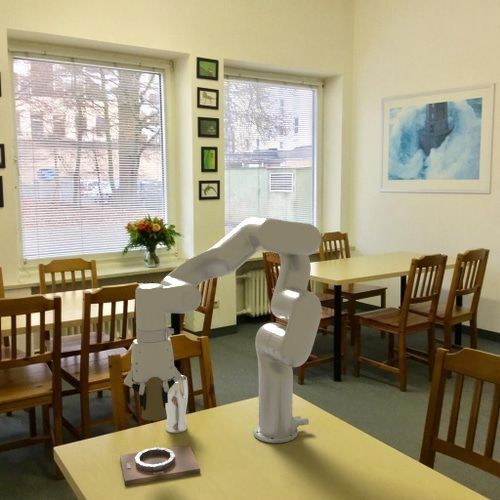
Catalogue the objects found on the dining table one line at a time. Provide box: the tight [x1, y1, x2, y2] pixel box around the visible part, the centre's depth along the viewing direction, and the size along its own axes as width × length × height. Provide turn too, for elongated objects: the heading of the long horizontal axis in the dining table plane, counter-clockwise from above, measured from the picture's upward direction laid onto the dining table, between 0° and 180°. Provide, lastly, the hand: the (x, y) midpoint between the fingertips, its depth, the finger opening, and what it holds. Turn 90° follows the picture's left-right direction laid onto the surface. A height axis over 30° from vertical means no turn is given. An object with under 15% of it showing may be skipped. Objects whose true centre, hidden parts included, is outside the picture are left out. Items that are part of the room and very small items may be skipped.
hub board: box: [119, 444, 201, 486], centre depth 138 cm, size 18×13×1 cm
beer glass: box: [165, 374, 189, 434], centre depth 159 cm, size 7×7×15 cm
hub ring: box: [135, 446, 175, 472], centre depth 138 cm, size 10×10×2 cm
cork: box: [141, 377, 167, 422], centre depth 136 cm, size 6×6×11 cm
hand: (153, 406), depth 136 cm, fingers closed on cork, 4 cm apart
